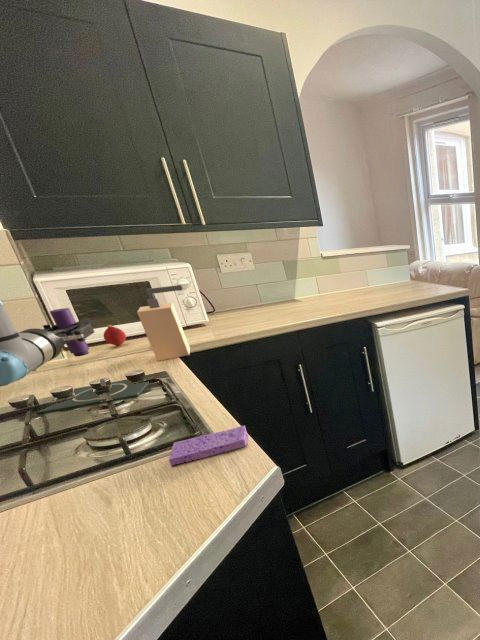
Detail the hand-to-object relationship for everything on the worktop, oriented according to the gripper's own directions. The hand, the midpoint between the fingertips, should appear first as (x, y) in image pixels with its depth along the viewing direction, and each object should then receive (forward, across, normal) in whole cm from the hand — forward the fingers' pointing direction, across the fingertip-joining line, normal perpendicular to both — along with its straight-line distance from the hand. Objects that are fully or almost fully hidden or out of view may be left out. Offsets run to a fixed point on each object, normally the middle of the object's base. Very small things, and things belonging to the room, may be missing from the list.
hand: (78, 324), depth 112 cm
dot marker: (-5, 0, -7) cm, 9 cm away
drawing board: (-9, +2, -18) cm, 20 cm away
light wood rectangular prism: (+21, +14, -18) cm, 31 cm away
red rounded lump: (+45, -10, -18) cm, 49 cm away
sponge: (-57, +34, -18) cm, 69 cm away
